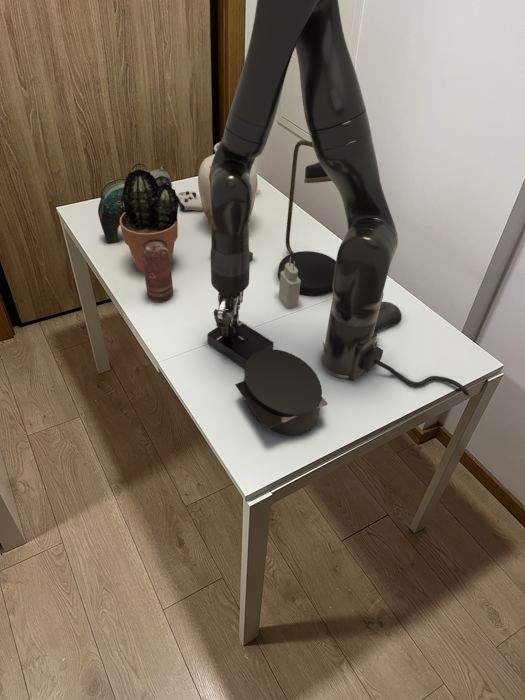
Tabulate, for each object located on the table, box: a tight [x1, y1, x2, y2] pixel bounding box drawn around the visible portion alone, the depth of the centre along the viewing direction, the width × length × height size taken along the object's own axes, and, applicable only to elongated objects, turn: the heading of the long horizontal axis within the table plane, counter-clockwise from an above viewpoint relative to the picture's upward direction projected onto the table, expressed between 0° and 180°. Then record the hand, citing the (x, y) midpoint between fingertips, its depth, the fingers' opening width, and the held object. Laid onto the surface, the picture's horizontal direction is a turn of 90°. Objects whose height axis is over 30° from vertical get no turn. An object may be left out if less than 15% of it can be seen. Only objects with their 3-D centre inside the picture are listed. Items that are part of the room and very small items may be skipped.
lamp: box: [277, 139, 336, 297], centre depth 123 cm, size 16×22×38 cm
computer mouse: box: [374, 301, 402, 345], centre depth 122 cm, size 10×15×4 cm
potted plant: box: [119, 168, 179, 273], centre depth 128 cm, size 14×14×25 cm
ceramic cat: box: [97, 162, 173, 244], centre depth 139 cm, size 20×6×20 cm, turn 115°
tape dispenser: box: [234, 348, 329, 437], centre depth 103 cm, size 14×18×8 cm
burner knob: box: [228, 310, 240, 336], centre depth 113 cm, size 4×4×5 cm
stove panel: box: [206, 320, 274, 370], centre depth 115 cm, size 13×8×3 cm, turn 48°
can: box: [142, 239, 174, 303], centre depth 123 cm, size 6×6×14 cm
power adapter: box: [278, 257, 301, 309], centre depth 124 cm, size 3×5×12 cm, turn 24°
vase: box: [197, 142, 258, 227], centre depth 143 cm, size 16×16×23 cm
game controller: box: [176, 190, 204, 212], centre depth 158 cm, size 10×5×6 cm
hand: (230, 329), depth 115 cm, fingers closed on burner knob, 3 cm apart
